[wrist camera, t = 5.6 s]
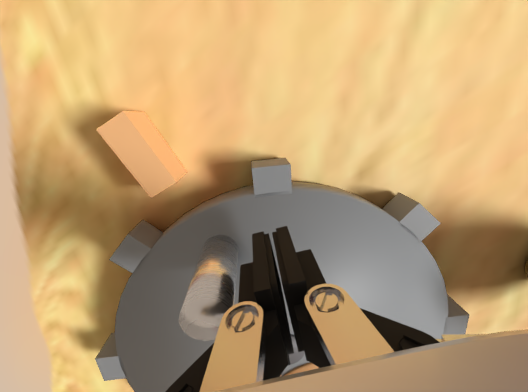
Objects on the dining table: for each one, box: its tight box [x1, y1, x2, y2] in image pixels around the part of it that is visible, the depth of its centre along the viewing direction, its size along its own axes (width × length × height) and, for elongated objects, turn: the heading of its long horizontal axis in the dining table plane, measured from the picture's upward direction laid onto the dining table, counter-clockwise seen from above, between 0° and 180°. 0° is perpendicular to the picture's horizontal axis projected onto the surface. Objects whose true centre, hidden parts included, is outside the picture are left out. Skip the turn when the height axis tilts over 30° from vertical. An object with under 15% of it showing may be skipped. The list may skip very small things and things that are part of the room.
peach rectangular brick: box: [96, 111, 187, 198], centre depth 13 cm, size 4×2×2 cm, turn 31°
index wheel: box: [95, 158, 469, 392], centre depth 15 cm, size 24×24×7 cm
